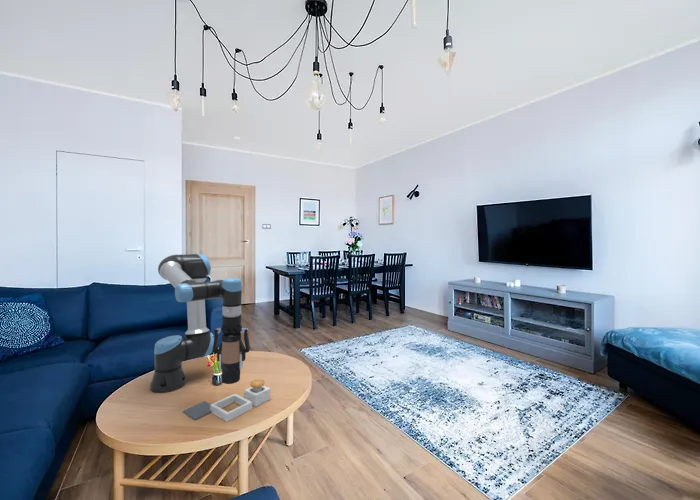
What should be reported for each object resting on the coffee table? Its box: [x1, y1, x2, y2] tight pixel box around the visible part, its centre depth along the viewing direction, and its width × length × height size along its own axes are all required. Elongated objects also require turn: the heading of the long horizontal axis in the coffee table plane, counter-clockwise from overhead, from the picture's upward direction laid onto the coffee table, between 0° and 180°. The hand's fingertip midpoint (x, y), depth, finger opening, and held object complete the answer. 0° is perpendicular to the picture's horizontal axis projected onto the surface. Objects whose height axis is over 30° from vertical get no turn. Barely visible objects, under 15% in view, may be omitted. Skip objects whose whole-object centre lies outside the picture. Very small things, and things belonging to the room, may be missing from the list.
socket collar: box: [210, 393, 253, 423], centre depth 133 cm, size 12×12×3 cm
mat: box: [182, 400, 212, 421], centre depth 132 cm, size 10×10×1 cm
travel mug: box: [221, 332, 242, 385], centre depth 132 cm, size 8×8×20 cm
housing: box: [243, 385, 271, 407], centre depth 141 cm, size 8×8×5 cm
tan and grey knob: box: [249, 378, 265, 393], centre depth 141 cm, size 6×6×8 cm
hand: (231, 368), depth 132 cm, fingers closed on travel mug, 8 cm apart
